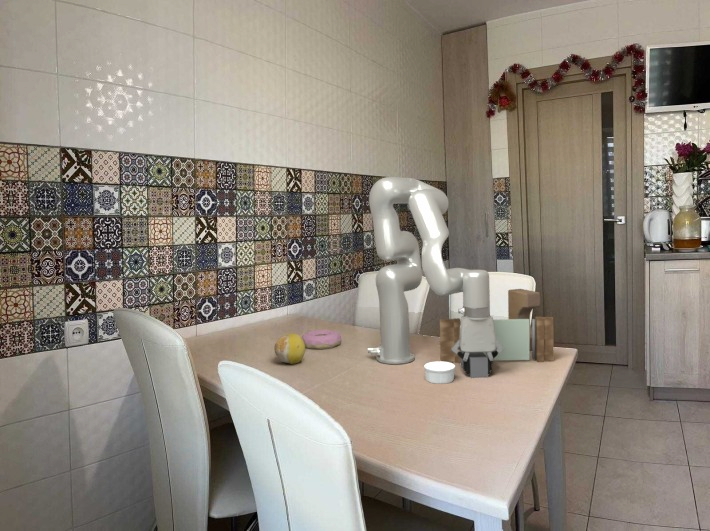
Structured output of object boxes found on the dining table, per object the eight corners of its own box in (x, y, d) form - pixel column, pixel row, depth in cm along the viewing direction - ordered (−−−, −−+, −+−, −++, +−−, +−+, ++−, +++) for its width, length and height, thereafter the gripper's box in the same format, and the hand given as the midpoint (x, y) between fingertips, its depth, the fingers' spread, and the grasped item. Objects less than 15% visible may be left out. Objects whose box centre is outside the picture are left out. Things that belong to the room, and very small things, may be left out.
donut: (335, 339, 206) (335, 326, 206) (347, 347, 192) (346, 334, 191) (297, 343, 201) (296, 331, 201) (305, 352, 187) (305, 339, 186)
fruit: (292, 357, 181) (291, 329, 180) (312, 362, 173) (311, 333, 172) (268, 364, 174) (266, 334, 173) (287, 369, 166) (286, 339, 165)
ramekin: (448, 386, 144) (448, 371, 144) (419, 382, 149) (418, 367, 149) (459, 377, 152) (459, 363, 151) (431, 373, 157) (431, 359, 156)
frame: (441, 363, 167) (440, 320, 166) (440, 361, 169) (439, 318, 168) (553, 361, 164) (553, 318, 163) (551, 359, 166) (551, 316, 165)
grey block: (470, 378, 151) (470, 358, 150) (460, 365, 164) (460, 346, 163) (488, 377, 151) (487, 357, 150) (476, 364, 164) (476, 346, 163)
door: (466, 362, 165) (465, 322, 164) (465, 359, 168) (464, 320, 167) (537, 361, 163) (537, 320, 162) (534, 358, 166) (534, 318, 165)
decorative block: (541, 350, 178) (540, 292, 176) (526, 352, 176) (526, 293, 175) (521, 343, 189) (521, 288, 187) (507, 344, 187) (507, 289, 185)
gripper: (448, 315, 148) (449, 377, 150) (509, 313, 147) (510, 376, 148) (445, 310, 156) (447, 370, 157) (503, 309, 154) (504, 369, 156)
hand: (477, 372), depth 153 cm, fingers closed on grey block, 5 cm apart
